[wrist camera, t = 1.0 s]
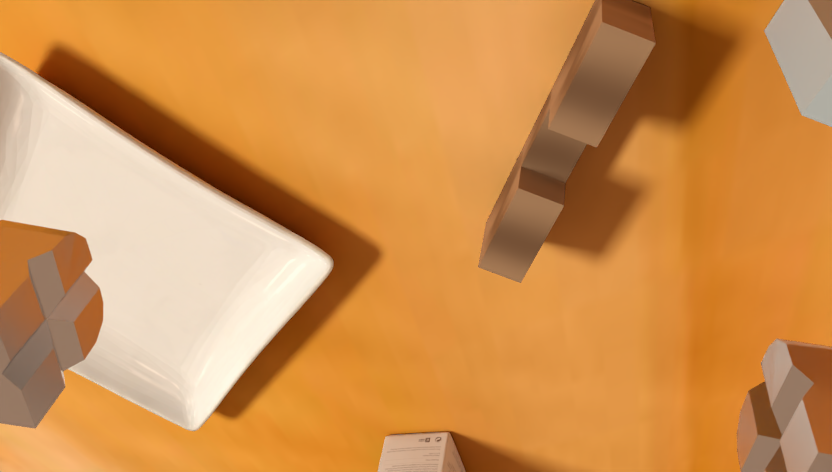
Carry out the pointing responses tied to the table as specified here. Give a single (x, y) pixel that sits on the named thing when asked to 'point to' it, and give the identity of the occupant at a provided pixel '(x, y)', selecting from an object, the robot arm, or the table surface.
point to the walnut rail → (566, 132)
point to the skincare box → (420, 453)
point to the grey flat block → (805, 54)
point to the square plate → (151, 251)
